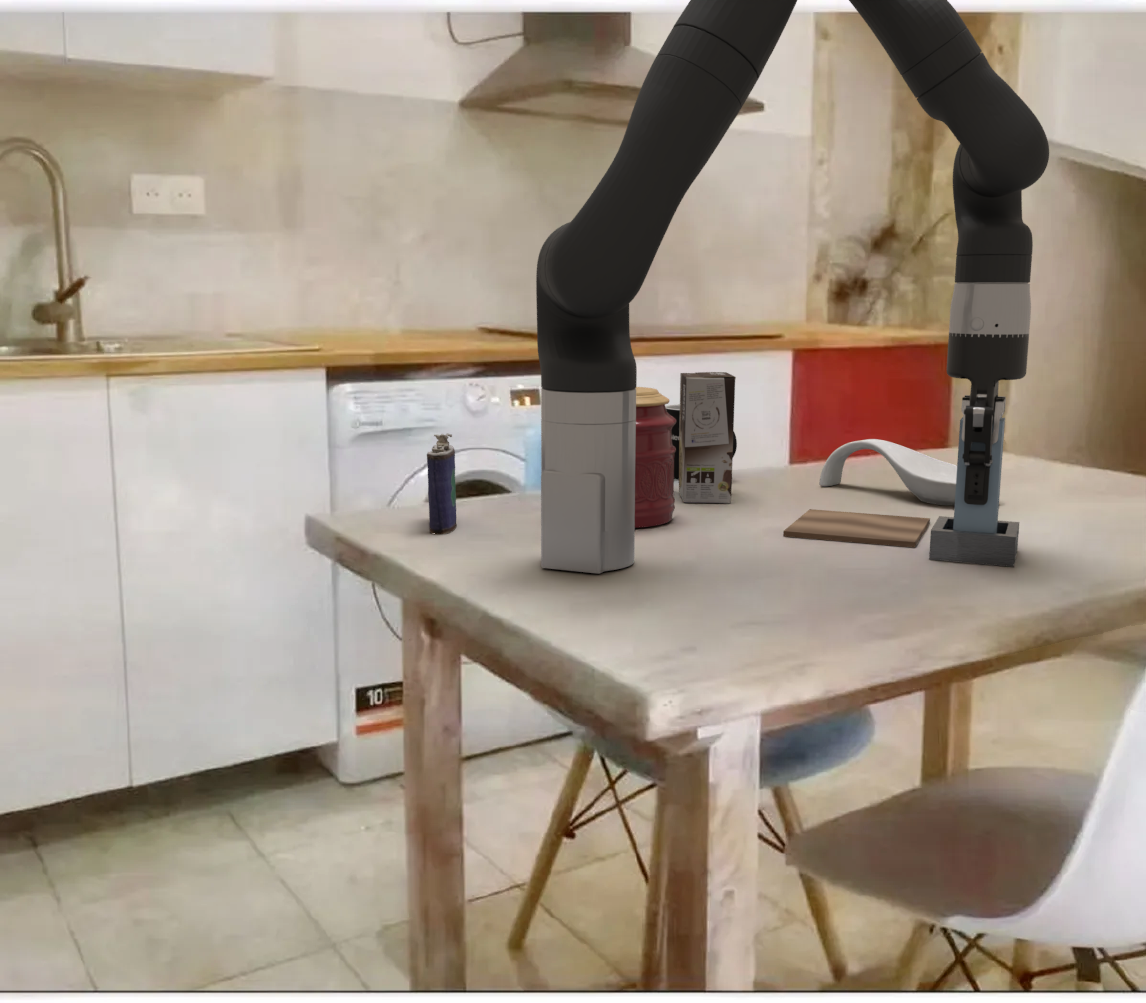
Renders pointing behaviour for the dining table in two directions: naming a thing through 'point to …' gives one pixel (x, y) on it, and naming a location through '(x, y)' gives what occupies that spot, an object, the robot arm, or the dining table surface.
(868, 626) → the dining table surface
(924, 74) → the robot arm
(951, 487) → the spoon rest
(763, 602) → the dining table surface
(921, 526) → the board
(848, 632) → the dining table surface
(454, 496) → the flask
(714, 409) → the coffee box
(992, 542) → the collar
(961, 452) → the peg
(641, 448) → the canister
